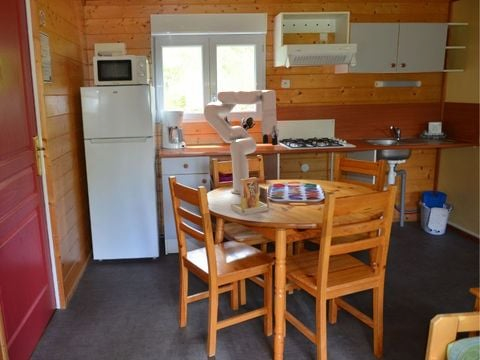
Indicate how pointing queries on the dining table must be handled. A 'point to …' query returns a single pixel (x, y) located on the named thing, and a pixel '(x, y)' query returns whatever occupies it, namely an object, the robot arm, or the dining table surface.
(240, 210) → the tray
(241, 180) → the candy box
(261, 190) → the holder
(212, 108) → the robot arm
